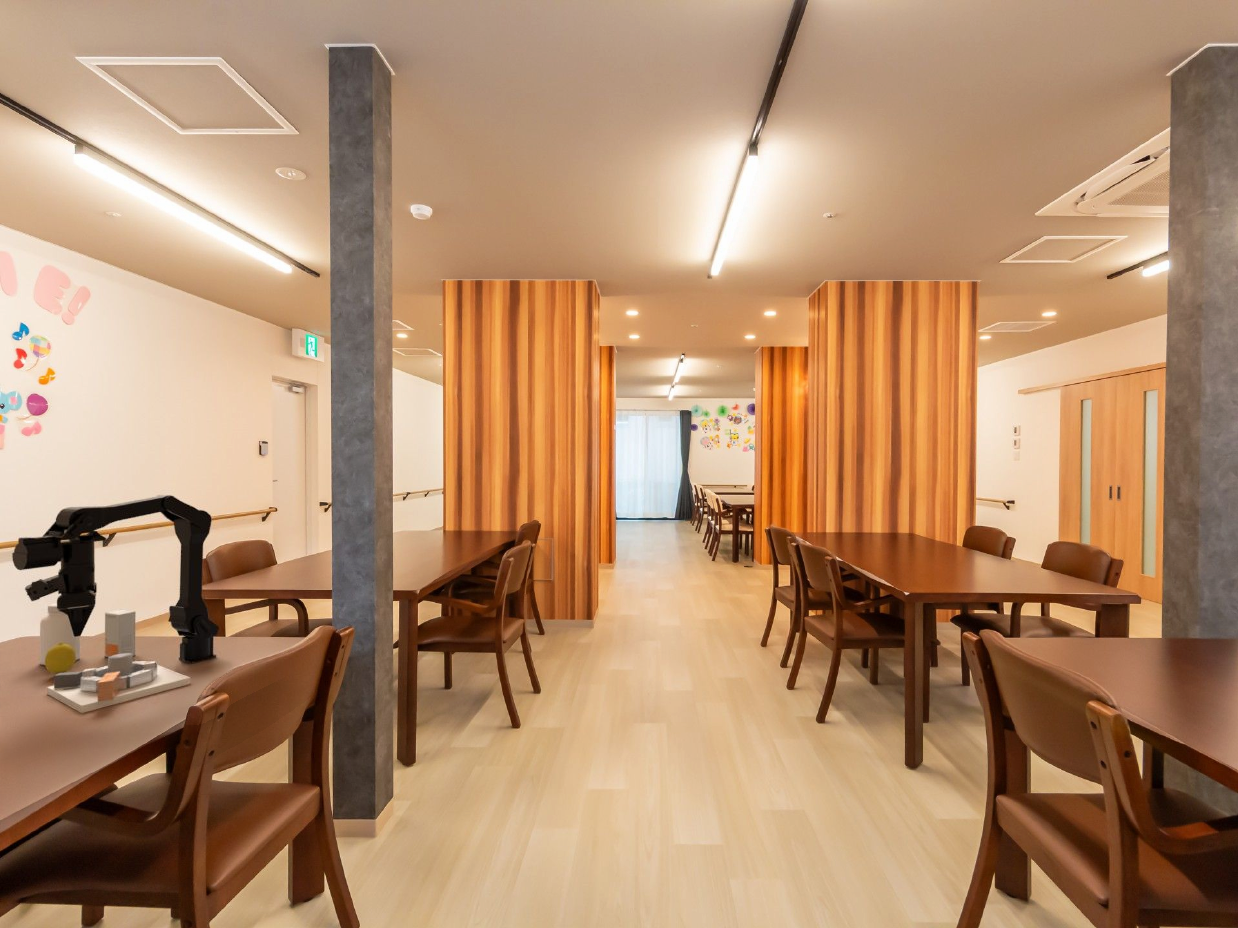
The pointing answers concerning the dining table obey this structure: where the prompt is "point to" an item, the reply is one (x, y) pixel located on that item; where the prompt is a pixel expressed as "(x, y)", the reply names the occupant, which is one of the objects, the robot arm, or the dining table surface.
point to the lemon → (60, 658)
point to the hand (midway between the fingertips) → (78, 631)
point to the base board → (84, 701)
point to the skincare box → (119, 632)
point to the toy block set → (116, 679)
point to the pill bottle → (57, 633)
